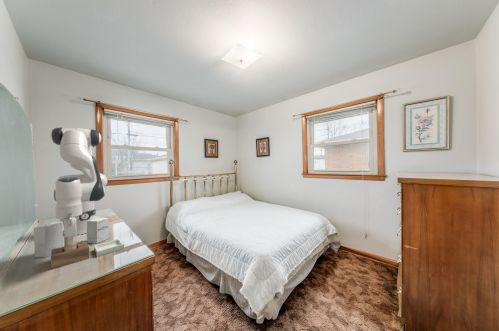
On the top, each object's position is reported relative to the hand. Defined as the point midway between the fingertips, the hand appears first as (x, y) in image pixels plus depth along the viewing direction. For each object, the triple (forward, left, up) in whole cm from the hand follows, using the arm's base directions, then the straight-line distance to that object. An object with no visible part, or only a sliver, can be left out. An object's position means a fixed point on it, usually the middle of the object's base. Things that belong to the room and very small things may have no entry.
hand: (70, 241), depth 83 cm
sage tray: (+2, +14, -8) cm, 16 cm away
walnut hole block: (0, 0, -8) cm, 8 cm away
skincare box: (-17, -7, -8) cm, 20 cm away
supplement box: (-18, +12, -8) cm, 23 cm away
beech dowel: (0, 0, -8) cm, 8 cm away
